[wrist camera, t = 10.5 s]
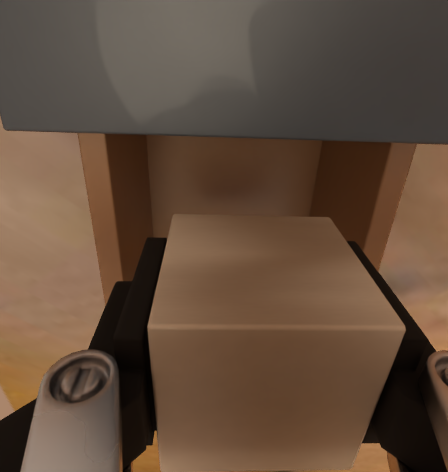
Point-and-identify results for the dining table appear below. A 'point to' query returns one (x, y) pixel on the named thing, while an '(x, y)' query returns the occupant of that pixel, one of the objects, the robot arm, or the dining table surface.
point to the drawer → (235, 187)
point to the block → (265, 345)
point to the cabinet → (227, 68)
